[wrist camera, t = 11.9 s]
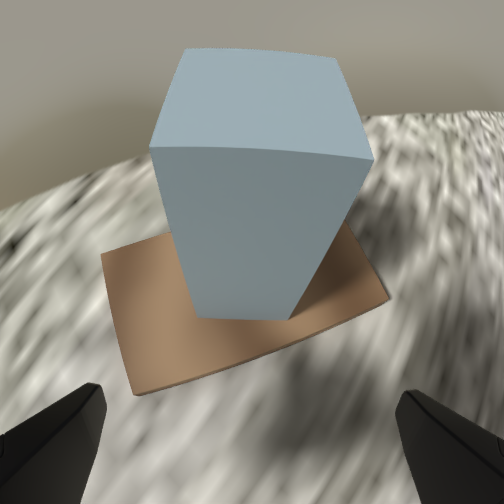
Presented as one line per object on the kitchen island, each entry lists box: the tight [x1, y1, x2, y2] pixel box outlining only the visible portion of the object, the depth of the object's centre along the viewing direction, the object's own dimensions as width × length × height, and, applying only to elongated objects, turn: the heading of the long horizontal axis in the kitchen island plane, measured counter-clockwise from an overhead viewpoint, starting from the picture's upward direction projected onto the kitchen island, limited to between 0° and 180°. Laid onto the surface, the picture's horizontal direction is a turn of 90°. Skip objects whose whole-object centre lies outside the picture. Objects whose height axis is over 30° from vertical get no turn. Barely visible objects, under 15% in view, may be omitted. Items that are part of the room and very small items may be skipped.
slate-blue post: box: [149, 48, 374, 320], centre depth 13 cm, size 5×5×12 cm
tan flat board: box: [101, 219, 389, 396], centre depth 19 cm, size 16×9×1 cm, turn 111°
